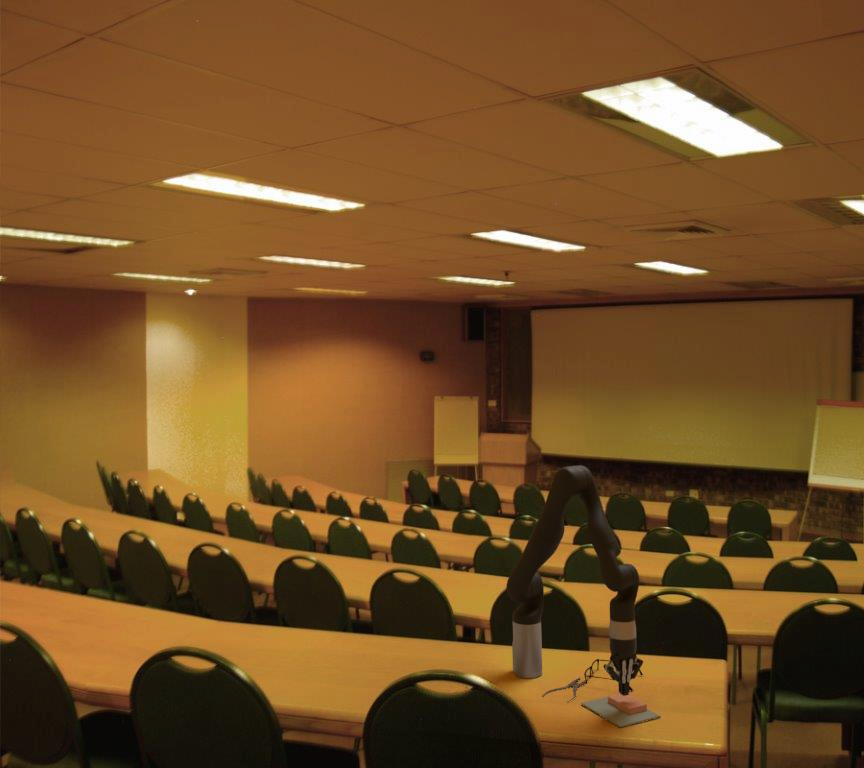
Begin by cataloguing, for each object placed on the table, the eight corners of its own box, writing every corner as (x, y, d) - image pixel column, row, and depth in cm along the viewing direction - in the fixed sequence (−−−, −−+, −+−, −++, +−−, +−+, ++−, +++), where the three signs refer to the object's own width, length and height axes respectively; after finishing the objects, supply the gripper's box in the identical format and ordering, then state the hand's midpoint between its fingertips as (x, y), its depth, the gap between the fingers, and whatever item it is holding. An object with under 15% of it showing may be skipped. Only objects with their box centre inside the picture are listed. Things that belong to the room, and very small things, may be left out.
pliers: (539, 697, 242) (559, 674, 260) (539, 700, 242) (559, 677, 260) (571, 702, 238) (589, 678, 256) (571, 705, 238) (589, 681, 256)
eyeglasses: (597, 668, 267) (596, 656, 267) (645, 676, 259) (645, 663, 259) (582, 686, 252) (581, 673, 252) (632, 694, 245) (632, 681, 245)
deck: (607, 696, 237) (624, 692, 239) (607, 702, 237) (624, 698, 239) (629, 708, 228) (646, 704, 230) (630, 714, 228) (646, 710, 230)
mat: (581, 704, 237) (581, 702, 237) (619, 695, 243) (619, 693, 243) (620, 728, 221) (620, 726, 221) (660, 717, 227) (660, 715, 227)
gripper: (632, 627, 239) (634, 686, 239) (596, 634, 233) (597, 694, 233) (649, 634, 232) (651, 694, 232) (612, 641, 226) (613, 703, 226)
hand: (624, 694), depth 232 cm, fingers closed
